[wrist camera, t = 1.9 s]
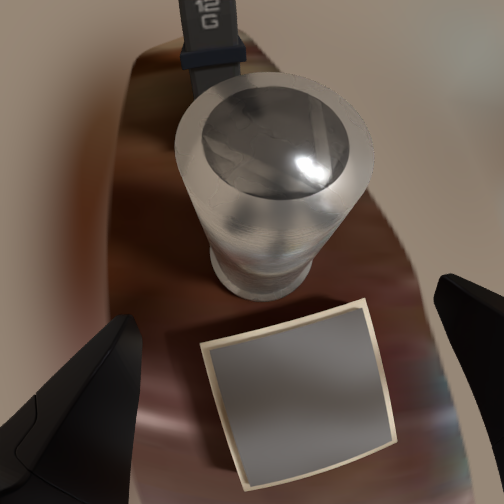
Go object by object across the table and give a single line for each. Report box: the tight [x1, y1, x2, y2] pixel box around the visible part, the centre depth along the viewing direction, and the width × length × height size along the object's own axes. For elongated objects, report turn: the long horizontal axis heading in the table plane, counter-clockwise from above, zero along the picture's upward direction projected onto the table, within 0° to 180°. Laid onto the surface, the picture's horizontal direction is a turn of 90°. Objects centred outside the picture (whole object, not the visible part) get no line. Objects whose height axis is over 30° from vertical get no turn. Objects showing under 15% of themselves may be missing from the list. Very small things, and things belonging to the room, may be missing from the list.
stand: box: [200, 298, 397, 491], centre depth 16 cm, size 10×10×3 cm
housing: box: [175, 72, 374, 302], centre depth 14 cm, size 7×7×12 cm
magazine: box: [179, 0, 246, 100], centre depth 19 cm, size 4×13×15 cm, turn 8°
